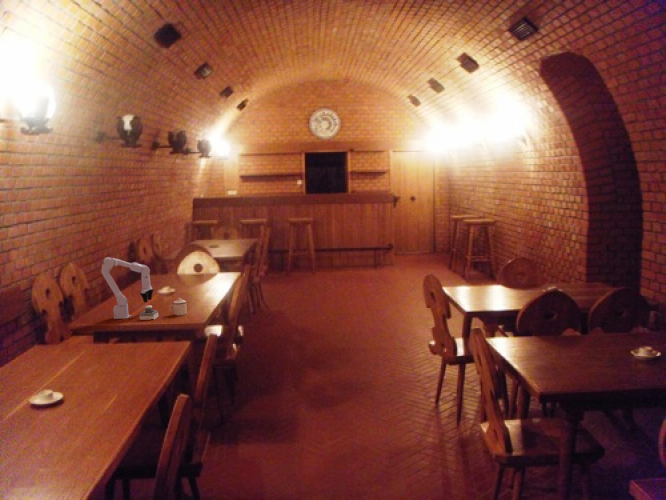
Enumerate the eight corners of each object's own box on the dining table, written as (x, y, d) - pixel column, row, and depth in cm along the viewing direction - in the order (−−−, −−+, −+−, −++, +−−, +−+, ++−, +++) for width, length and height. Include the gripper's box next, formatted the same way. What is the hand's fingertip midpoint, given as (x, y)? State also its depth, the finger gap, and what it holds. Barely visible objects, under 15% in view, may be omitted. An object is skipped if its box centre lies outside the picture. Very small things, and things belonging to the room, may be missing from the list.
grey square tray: (139, 319, 409) (139, 313, 408) (144, 316, 418) (144, 310, 417) (153, 319, 408) (153, 313, 408) (158, 316, 417) (158, 309, 417)
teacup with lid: (187, 312, 426) (186, 296, 424) (186, 315, 417) (185, 299, 415) (170, 313, 424) (169, 297, 423) (169, 316, 415) (167, 300, 414)
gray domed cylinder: (144, 315, 411) (143, 307, 410) (147, 313, 416) (146, 305, 415) (151, 315, 410) (150, 307, 409) (153, 313, 415) (153, 305, 414)
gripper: (147, 284, 414) (149, 303, 416) (155, 280, 429) (156, 298, 431) (137, 284, 415) (139, 303, 417) (145, 280, 429) (147, 298, 431)
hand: (147, 301), depth 424 cm, fingers open, 7 cm apart
